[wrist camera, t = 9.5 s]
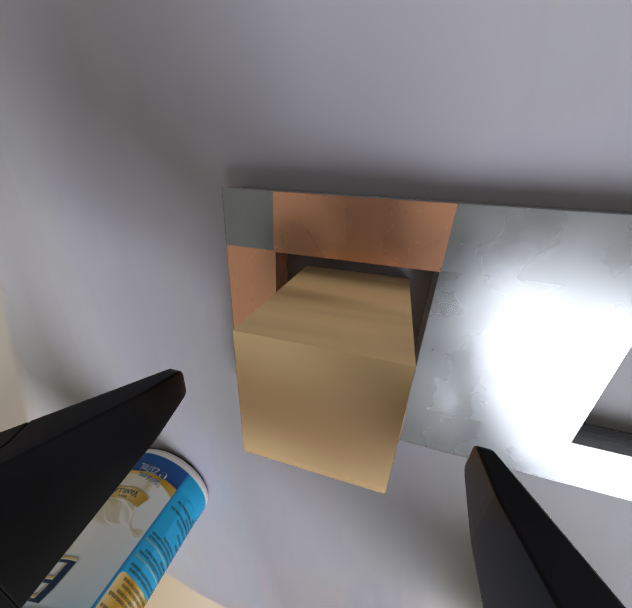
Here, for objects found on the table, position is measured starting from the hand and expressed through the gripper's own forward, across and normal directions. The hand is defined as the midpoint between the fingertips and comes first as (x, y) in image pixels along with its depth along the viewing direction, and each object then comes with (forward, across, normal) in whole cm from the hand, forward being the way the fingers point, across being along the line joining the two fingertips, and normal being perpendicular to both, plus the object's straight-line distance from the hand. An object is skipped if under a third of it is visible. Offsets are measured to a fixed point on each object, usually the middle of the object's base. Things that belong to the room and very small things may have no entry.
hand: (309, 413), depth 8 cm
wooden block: (+7, 0, 0) cm, 7 cm away
